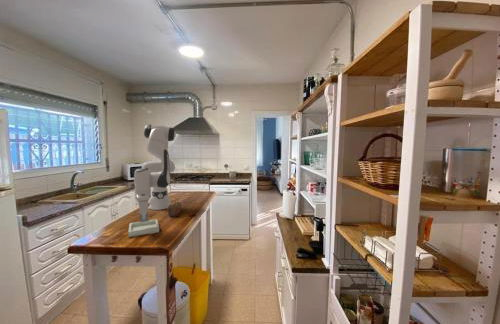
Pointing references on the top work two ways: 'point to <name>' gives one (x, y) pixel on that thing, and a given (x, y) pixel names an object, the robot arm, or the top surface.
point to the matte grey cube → (143, 219)
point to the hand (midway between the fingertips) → (143, 217)
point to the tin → (174, 209)
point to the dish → (143, 228)
